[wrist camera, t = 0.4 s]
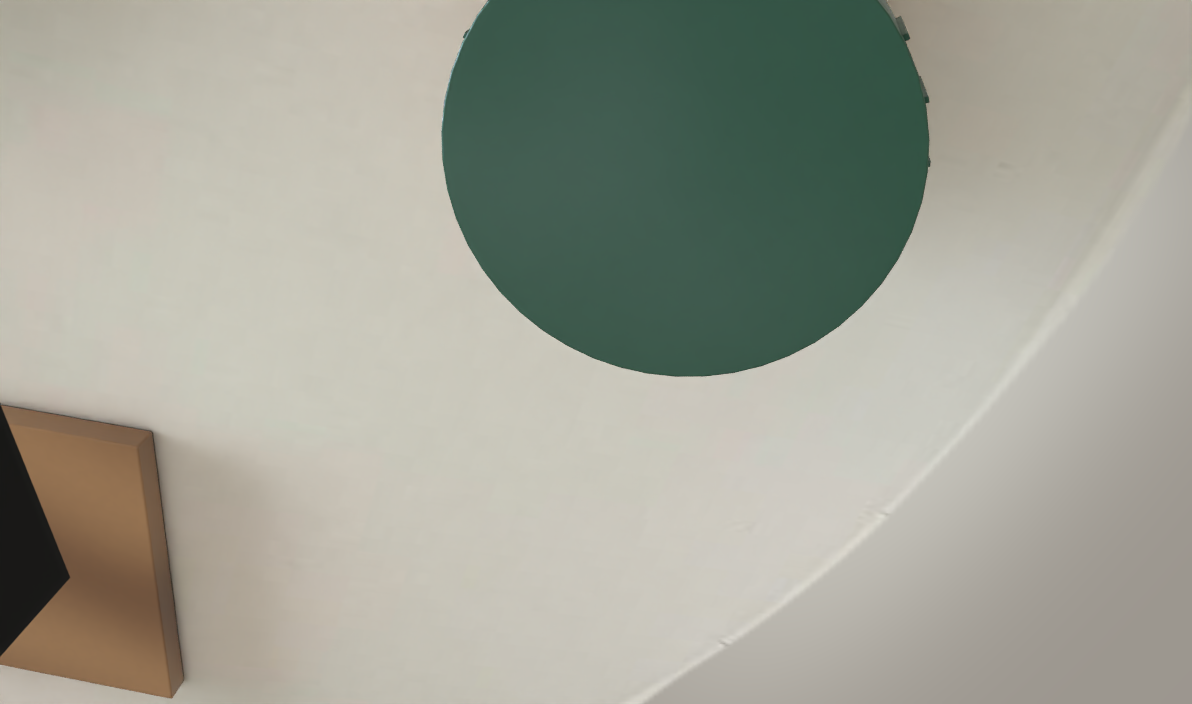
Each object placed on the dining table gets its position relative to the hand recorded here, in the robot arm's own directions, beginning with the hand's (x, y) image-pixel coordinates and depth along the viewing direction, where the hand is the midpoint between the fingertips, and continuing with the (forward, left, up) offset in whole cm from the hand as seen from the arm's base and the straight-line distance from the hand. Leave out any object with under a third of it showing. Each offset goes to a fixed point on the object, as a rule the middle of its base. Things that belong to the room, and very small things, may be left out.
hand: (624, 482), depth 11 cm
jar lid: (0, 0, -9) cm, 9 cm away
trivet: (-22, +23, -20) cm, 38 cm away
